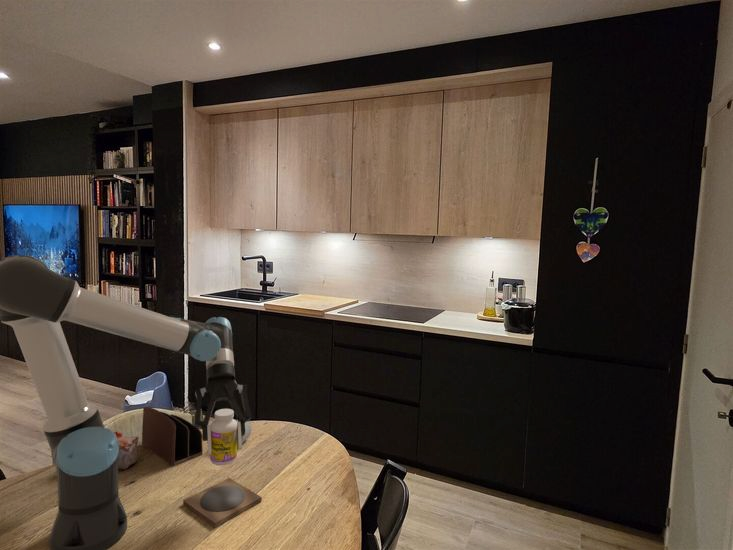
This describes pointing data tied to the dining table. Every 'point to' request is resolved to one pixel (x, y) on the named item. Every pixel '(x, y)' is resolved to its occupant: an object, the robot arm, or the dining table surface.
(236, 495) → the dock plate
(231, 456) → the supplement bottle
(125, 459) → the food item
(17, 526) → the dining table surface
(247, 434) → the ceramic mug
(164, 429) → the letter holder
